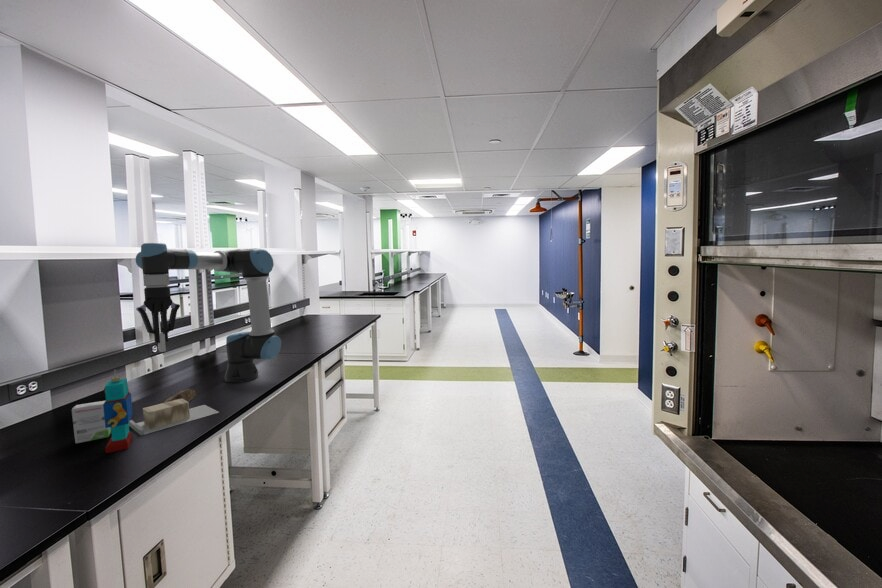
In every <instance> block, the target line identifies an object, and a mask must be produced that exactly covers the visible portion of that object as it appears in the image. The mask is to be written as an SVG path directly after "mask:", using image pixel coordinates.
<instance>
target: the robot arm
mask: <svg viewBox="0 0 882 588" xmlns="http://www.w3.org/2000/svg"><path fill="white" fill-rule="evenodd" d="M135 264H136V265H137V267H138V268H140V269H141V270H142V276H143V278H142V279H143V286H144V289H143V292H144V302H143V304H142V305H140V306H137V307H136V311H137V312H138V313H139V314H140V317H141V319H142V322H143V324H144V327H145V329H146V332H147V333H148V334H152V335H153V338H154V343H155V344H157V347H158V352H160V353H164V352H167V347H166V342H167V343H168V341H169V333H170V332H171V331H174V329H175V323H176V318H177V314H178V310H179V309H180V307H181V305H180V304H179V303H175V302H173V299H172V298H171V295H172V294H171V288H170V283H171V282H170V276H169V274H170V273H169V270H214V271H216V272H225V273H233V274H234V273H235V274H241V276H242V279H243V280H244V281H246V288H247V290H246V291H247V296H248V297H247V298H248V306H249V307H248V308H249V315H250V317H249V318H250V325H251V326H250V327H251V330H250V331H244V332H243V331H242V332H236V333H233V334H229V335H227V336H226V343H225V344H226V345H225V346H226V359H227V368H226V371H225V374H224V381H225V382H227V383H232V384H233V383H243V382H249V381H253V380H255V379H257V378H258V377H259V371H258V368H257V366H256V363H255V361H254V360H264V361H266V360H272V359H274V358H276V357H277V356H278V354H279V353H280V351H281V348H282V340H281V338H280V337H279V336H277V335H276V332H275V331H276V330H274V329H273V328H272V326H271V325H272V324H271V316H270V315H271V314H270V307H269V306H270V305H269V297H268V296H269V295H268V285H267V284H268V283H267V279H268V278H269V277H270V273H271V272H272V270H273V269H274V265H275V264H274V258H273V256H272V255H271V254H270V252H269V251H268V250H266V249H265V248H255V247H254V248H237V249H229V250H217V251H214V252H201V251H200V252H199V251H198V252H197V251H194V250H192V249H182V248H181V249H179V248H178V249H176V248H175V249H173V248H171V249H168V247H167V244H166V243H162V242H144V243H142V244H141V246H140V251H139V252H138V253H137V254H136V256H135ZM169 308H171V310H170V313H169V319H168V318H167V317H168V310H169ZM147 310H148V311H150V312H151V318H152V323H151V321H150V319H149V316H148V314H147ZM159 316H160V321H159ZM160 323H161V325H160ZM160 326H161V332H160Z"/></svg>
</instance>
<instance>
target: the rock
mask: <svg viewBox="0 0 882 588" xmlns="http://www.w3.org/2000/svg"><path fill="white" fill-rule="evenodd" d="M196 395H197V394H196V391H195V390H194V389H190V388H186V389H183V390H180V391H177V392H176V393H175V394H173V395H171V396H169V397H167V399H165V400H164V401H163V402H162V403H166V402H170V401H173V400H177V399H181V398H182V399H184V400H185V401H187V402H189V403H190V402H191V401H192V400H193V399H194V398H195V397H196Z"/></svg>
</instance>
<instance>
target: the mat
mask: <svg viewBox="0 0 882 588" xmlns="http://www.w3.org/2000/svg"><path fill="white" fill-rule="evenodd" d="M219 413H220V411H219V410H216V409H214V408H212V407H210V406H208V405H206V404H202V405H198V406H194V407H192V408H191V407H190V408H189V414H190V418H187V419H184V420H180V421H177V422H173V423H170V424H167V425H163V426H160V427H156V428H153V429H150V428H148V427H147V426H146V425H144V420H142V421H140V422H135V421H134V420H133V419H130V421H129V428H131V429H132V430H133V431H135V432H136V433H137V434H138V435H139V436H144V435H147V434H150V433H154V432H159V431H161V430H164V429H167V428H171V427H175V426H178V425H181V424H185V423H188V422H191V421H194V420H195V421H196V420H199V419H202V418H205V417H208V416H212V415H215V414H219Z"/></svg>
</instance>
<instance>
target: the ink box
mask: <svg viewBox="0 0 882 588" xmlns="http://www.w3.org/2000/svg"><path fill="white" fill-rule="evenodd" d="M105 401H106V400H102V401H101V400H99V401H94V402H88V403H87V402H86V403H81V404H75V406H73V407H72V409H71V416H72V424H73V433H74V434H73V435H74V443H75V444H81V443H85V442H91V441H95V440H101V439H106V438H109V437H110V435H111V434H112V432H111V427H109V428H105V418H104V408H103V404H104V403H105Z"/></svg>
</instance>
